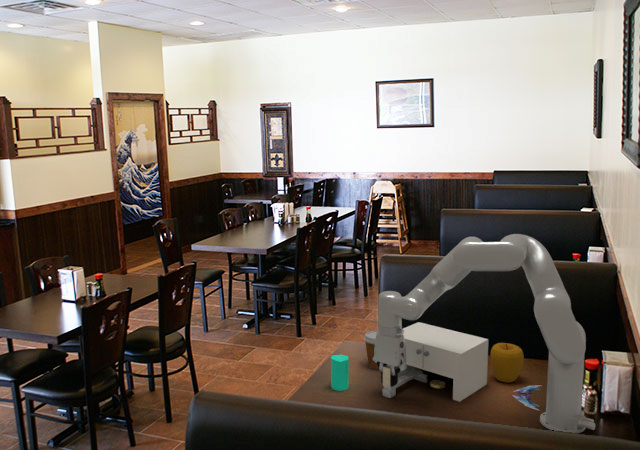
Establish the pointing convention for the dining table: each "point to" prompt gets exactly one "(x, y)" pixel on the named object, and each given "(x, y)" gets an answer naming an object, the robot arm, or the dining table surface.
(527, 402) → the decorative blades
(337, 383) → the candle
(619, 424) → the dining table surface
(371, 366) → the disposable coffee cup
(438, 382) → the brass token
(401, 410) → the dining table surface
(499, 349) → the apple
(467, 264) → the robot arm
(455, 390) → the cabinet
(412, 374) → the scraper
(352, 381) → the dining table surface
